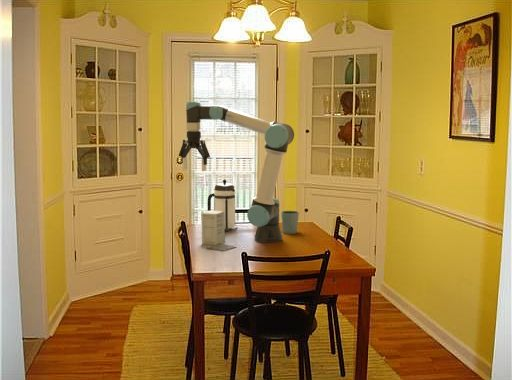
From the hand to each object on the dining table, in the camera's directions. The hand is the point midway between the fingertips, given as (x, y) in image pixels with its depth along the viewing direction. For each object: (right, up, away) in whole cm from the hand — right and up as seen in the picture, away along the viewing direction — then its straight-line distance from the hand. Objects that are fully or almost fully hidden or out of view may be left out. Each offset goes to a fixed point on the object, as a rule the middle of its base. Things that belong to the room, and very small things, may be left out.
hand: (194, 170), depth 319 cm
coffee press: (+13, -34, +36) cm, 51 cm away
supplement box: (+10, -39, -1) cm, 41 cm away
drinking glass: (+53, -36, +26) cm, 69 cm away
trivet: (+15, -41, -13) cm, 45 cm away
